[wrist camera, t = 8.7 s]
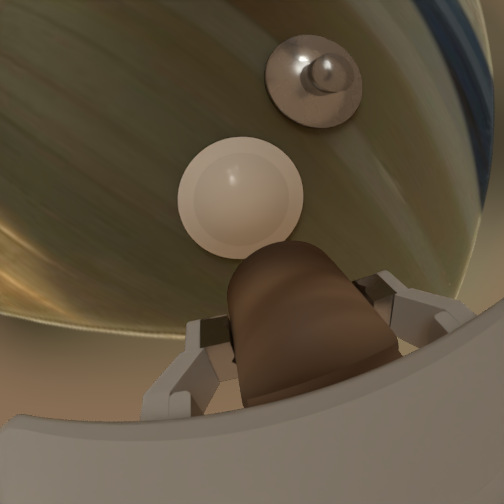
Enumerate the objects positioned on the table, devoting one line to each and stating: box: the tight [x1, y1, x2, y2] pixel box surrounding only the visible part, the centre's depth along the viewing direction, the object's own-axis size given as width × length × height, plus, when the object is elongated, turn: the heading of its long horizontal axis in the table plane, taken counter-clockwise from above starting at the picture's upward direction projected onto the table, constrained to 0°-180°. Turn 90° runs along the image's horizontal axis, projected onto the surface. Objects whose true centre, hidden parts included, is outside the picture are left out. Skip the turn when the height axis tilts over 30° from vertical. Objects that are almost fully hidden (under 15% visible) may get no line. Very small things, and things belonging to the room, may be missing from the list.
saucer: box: [178, 137, 303, 259], centre depth 26 cm, size 12×12×1 cm
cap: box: [227, 241, 403, 408], centre depth 9 cm, size 5×5×6 cm
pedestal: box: [264, 35, 363, 128], centre depth 20 cm, size 10×10×5 cm
